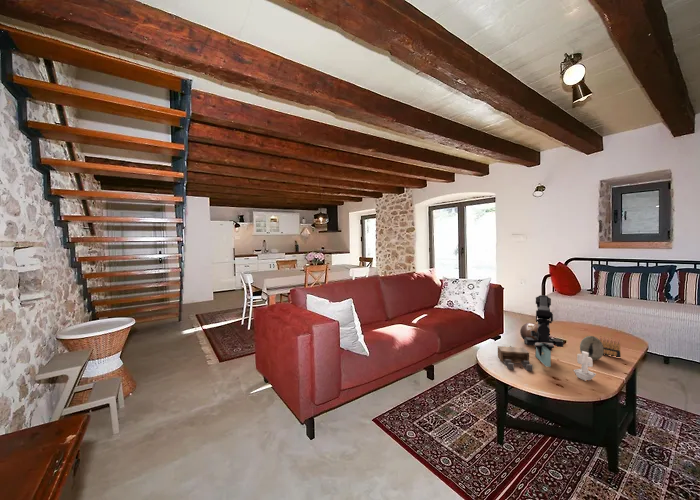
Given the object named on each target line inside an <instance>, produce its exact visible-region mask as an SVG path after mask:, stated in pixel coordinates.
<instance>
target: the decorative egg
mask: <svg viewBox="0 0 700 500" xmlns="http://www.w3.org/2000/svg"><path fill="white" fill-rule="evenodd" d="M579 351H580V354H582V351H585V352H588V353H589V355H588V357H591V358H592V360H593V361H597V360H600V359H601V358H602V357H603V356H604V355H603V353H604V348H603V342H602V343H601V341H600V338H598V337H596V336H594V335H587V336H585V337H584V338H582V339H581V341H580V344H579Z"/></svg>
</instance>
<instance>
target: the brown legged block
mask: <svg viewBox="0 0 700 500" xmlns="http://www.w3.org/2000/svg"><path fill="white" fill-rule="evenodd" d="M497 359H498V360H499V361H500V362H501V363H504V365H505V366H506V369H507V370H512V371H513V370H514V369H515V368H514V367H515V364H521V365H522V367H523V368H524V369H525V370H526V371H527V372H533V369H534V367H533V364H530V352H529V351H528V350H527V348H525V347H519V346H517V347H514V346H501V345H498V346H497Z"/></svg>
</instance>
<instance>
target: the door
mask: <svg viewBox="0 0 700 500" xmlns="http://www.w3.org/2000/svg"><path fill="white" fill-rule="evenodd" d="M540 345H541V346H542V349H541V356H540V355H539V352H538V350H537V347H536V349H535V350H536V356H535V358H537V360H538V359H539V361H540V362H541V363H542V364H543V365H544V366H545V367H547V368H548V367H549V368H550V367H551V365H552V364H551V362H552V360H551V359H552V355H551V354H552V351H550V350H549V349H548V348H547V347H546V346H544V345H543V344H542V343H540Z"/></svg>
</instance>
